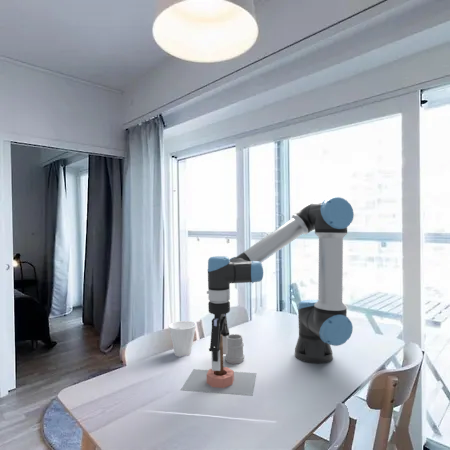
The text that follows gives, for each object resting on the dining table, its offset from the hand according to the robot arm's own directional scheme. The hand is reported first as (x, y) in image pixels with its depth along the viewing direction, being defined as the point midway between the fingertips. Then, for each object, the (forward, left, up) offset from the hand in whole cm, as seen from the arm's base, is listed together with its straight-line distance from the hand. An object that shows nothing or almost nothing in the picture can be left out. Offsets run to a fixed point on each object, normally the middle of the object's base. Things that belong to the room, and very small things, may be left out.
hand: (220, 361), depth 114 cm
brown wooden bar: (0, 0, -7) cm, 7 cm away
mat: (0, 0, -7) cm, 7 cm away
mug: (-1, -20, -7) cm, 21 cm away
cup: (+21, -23, -7) cm, 32 cm away
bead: (0, 0, -7) cm, 7 cm away
